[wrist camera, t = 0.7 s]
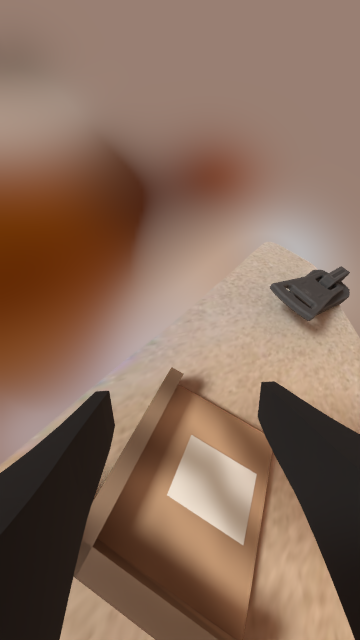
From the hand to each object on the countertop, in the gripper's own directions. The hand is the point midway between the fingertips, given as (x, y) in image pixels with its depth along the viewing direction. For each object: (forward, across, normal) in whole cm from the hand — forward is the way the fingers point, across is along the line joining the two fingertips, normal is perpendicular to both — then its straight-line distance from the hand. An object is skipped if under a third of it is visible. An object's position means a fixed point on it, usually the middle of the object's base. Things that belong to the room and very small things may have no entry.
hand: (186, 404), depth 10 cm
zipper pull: (+32, -26, +4) cm, 41 cm away
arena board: (+6, 0, +15) cm, 16 cm away
